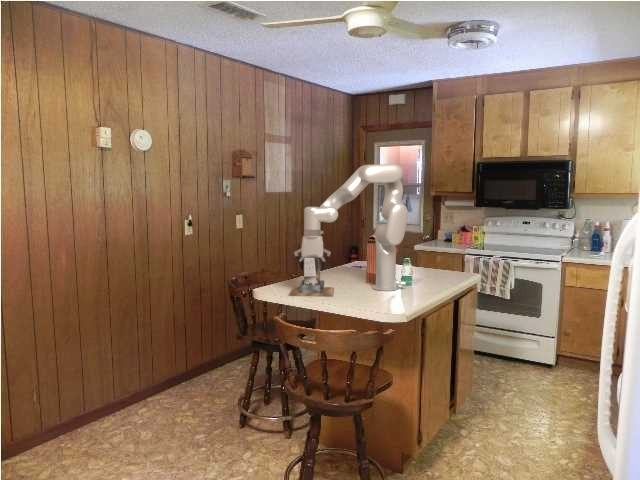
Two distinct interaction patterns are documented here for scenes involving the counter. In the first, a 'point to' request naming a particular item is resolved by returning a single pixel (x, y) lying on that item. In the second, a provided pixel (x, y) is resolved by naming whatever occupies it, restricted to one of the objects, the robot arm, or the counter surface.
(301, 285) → the dock
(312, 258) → the coffee box
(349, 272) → the counter surface
